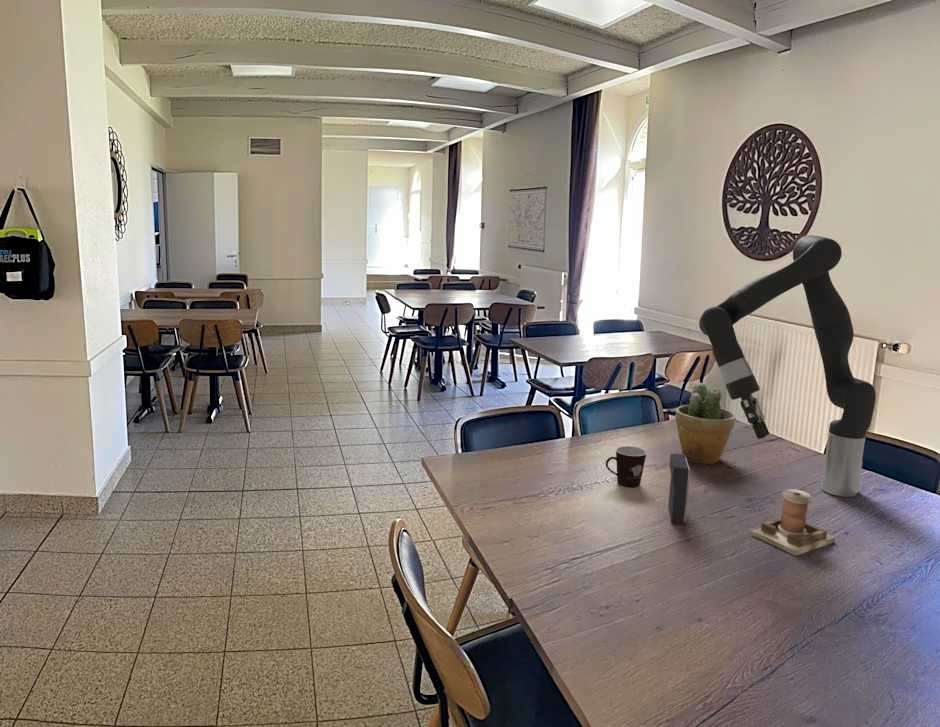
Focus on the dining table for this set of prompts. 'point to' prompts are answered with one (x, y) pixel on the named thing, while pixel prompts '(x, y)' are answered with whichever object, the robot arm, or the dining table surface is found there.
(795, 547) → the board
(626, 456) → the coffee mug
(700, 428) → the potted plant
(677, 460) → the calculator
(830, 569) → the dining table surface
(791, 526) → the bobbin
